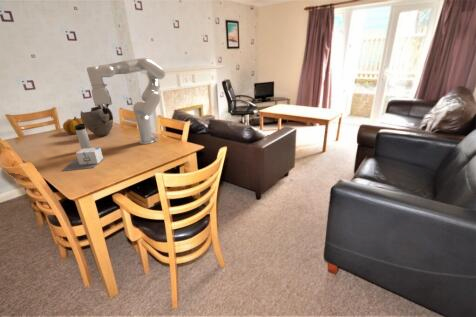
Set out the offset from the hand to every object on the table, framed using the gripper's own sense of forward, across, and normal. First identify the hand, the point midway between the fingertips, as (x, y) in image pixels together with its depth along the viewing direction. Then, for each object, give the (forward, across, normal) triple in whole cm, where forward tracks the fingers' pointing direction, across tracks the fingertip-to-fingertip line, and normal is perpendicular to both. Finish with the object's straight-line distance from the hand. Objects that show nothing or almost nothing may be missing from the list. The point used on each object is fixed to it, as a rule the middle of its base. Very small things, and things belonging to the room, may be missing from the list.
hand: (106, 113), depth 166 cm
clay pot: (+28, +23, -48) cm, 60 cm away
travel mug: (+27, +22, -8) cm, 36 cm away
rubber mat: (+27, +16, +20) cm, 37 cm away
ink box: (+22, +5, +20) cm, 30 cm away
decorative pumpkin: (+28, +49, -68) cm, 88 cm away
